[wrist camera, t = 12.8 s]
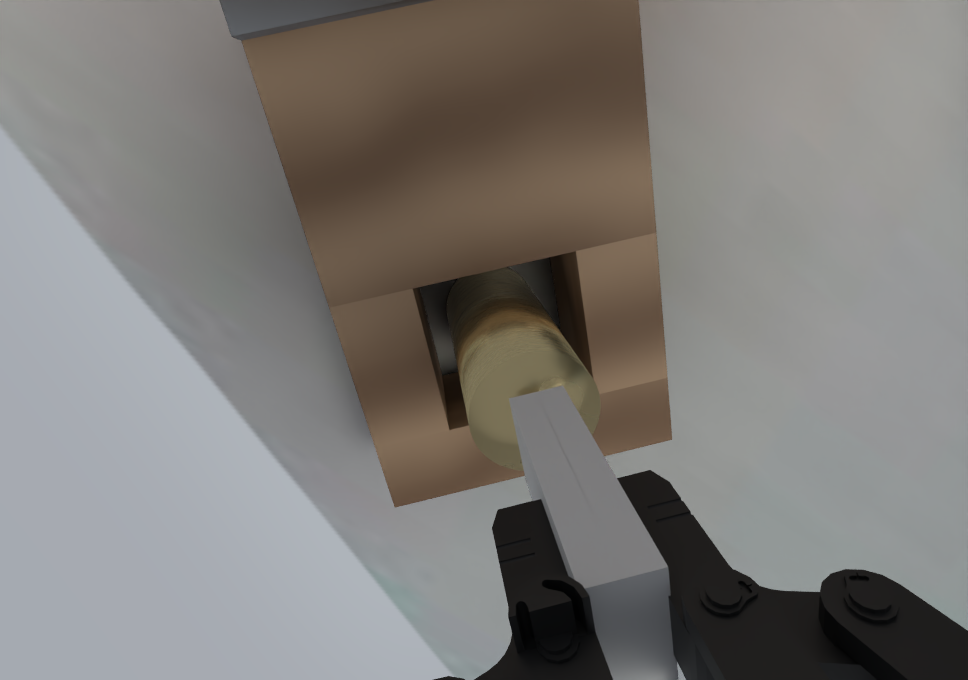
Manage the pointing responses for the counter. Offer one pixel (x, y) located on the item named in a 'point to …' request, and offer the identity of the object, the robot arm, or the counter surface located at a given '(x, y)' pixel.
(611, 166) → the jig
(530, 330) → the brass cylinder
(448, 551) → the counter surface
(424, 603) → the counter surface
